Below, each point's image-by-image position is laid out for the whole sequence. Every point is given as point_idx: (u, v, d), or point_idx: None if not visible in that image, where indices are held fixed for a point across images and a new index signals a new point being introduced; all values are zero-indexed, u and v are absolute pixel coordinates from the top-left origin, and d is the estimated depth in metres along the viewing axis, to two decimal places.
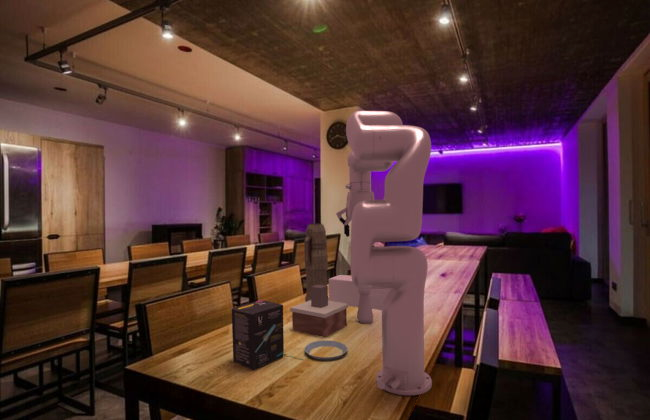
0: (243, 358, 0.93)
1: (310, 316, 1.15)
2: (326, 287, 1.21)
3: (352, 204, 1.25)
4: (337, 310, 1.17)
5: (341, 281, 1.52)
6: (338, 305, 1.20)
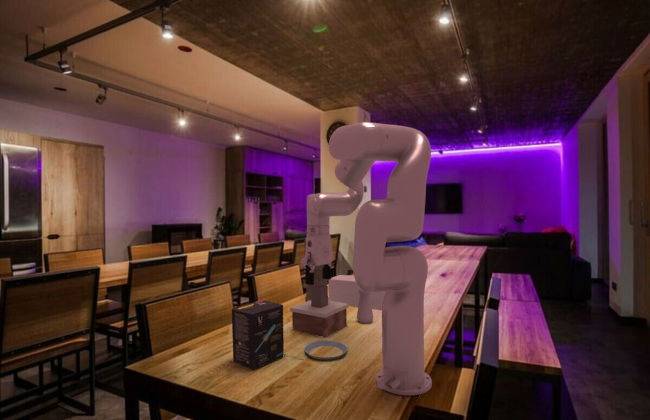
0: (243, 358, 0.93)
1: (310, 316, 1.15)
2: (326, 287, 1.21)
3: (318, 249, 1.16)
4: (337, 310, 1.17)
5: (341, 281, 1.52)
6: (338, 305, 1.20)
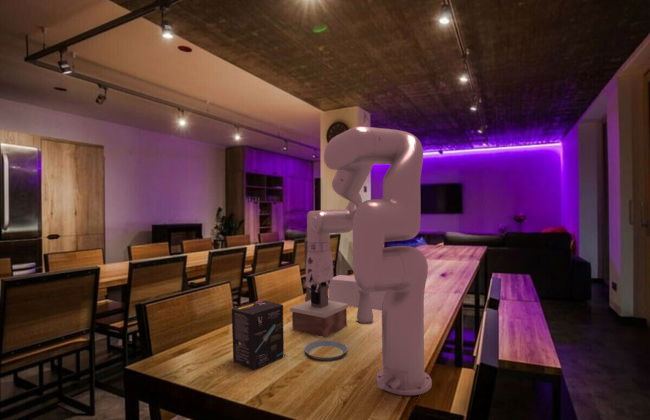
0: (243, 358, 0.93)
1: (310, 316, 1.15)
2: (326, 287, 1.21)
3: (319, 267, 1.16)
4: (337, 310, 1.17)
5: (341, 281, 1.52)
6: (338, 305, 1.20)
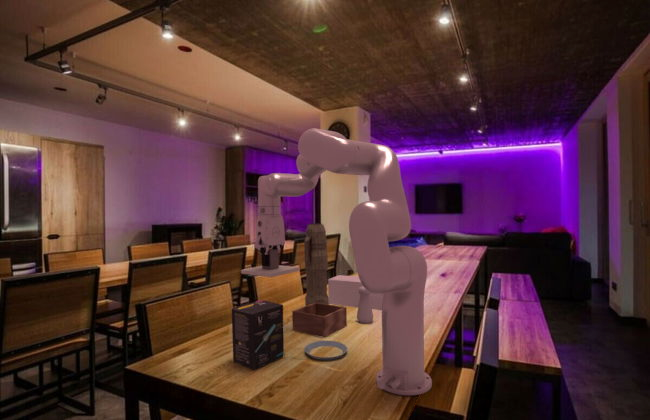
0: (243, 358, 0.93)
1: (310, 316, 1.15)
2: (277, 250, 1.24)
3: (268, 229, 1.19)
4: (286, 272, 1.20)
5: (341, 281, 1.51)
6: (288, 268, 1.23)
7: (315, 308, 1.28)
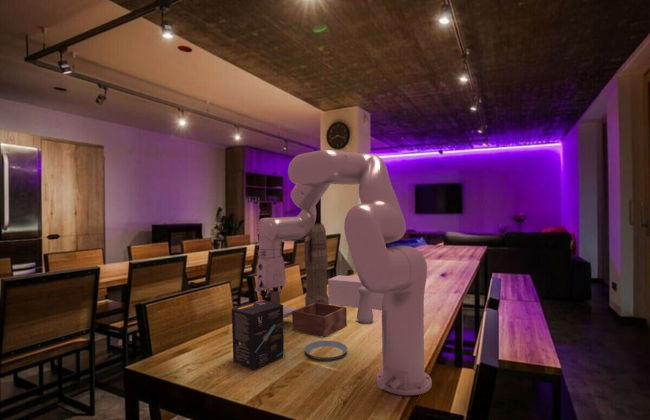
0: (243, 358, 0.93)
1: (310, 316, 1.15)
2: (277, 292, 1.24)
3: (269, 273, 1.19)
4: (286, 315, 1.20)
5: (341, 282, 1.51)
6: (289, 310, 1.23)
7: (315, 308, 1.28)
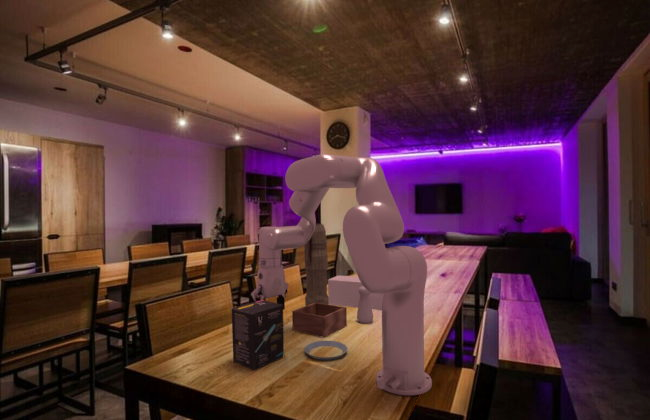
0: (243, 358, 0.93)
1: (310, 316, 1.15)
2: None
3: (269, 282, 1.19)
4: None
5: (341, 282, 1.51)
6: None
7: (315, 308, 1.28)
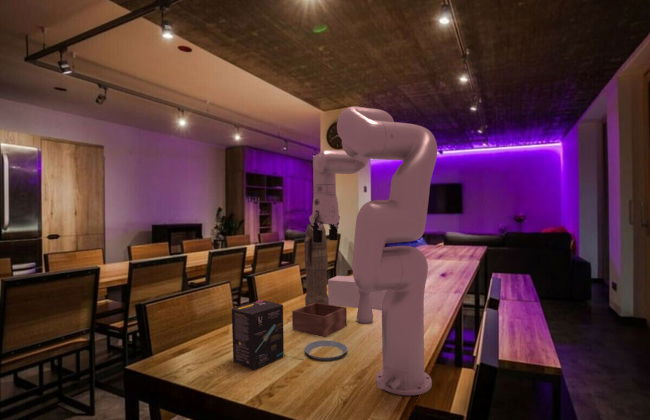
0: (243, 358, 0.93)
1: (310, 316, 1.15)
2: None
3: (326, 207, 1.18)
4: None
5: (341, 282, 1.50)
6: None
7: (315, 308, 1.28)
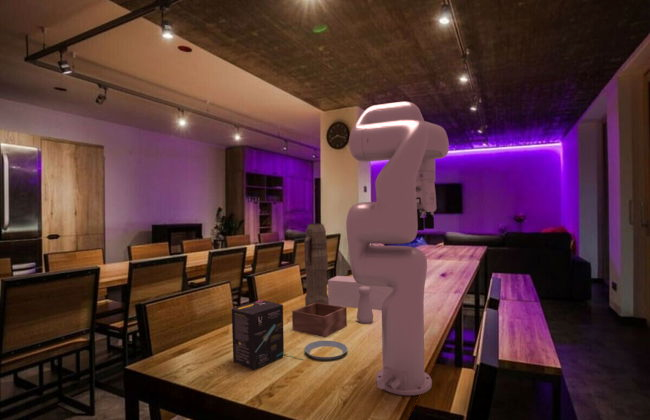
0: (243, 358, 0.93)
1: (310, 316, 1.15)
2: None
3: (428, 195, 1.15)
4: None
5: (341, 282, 1.50)
6: None
7: (315, 308, 1.28)
